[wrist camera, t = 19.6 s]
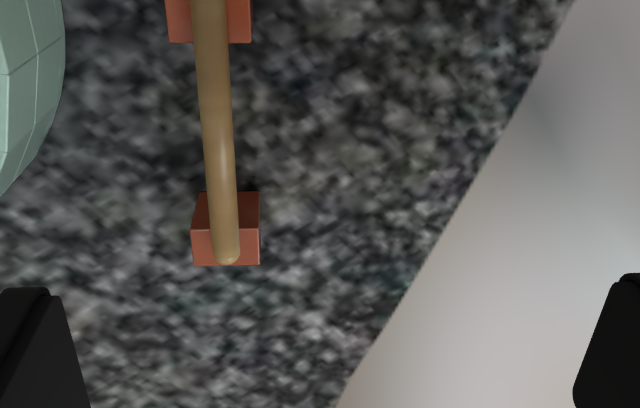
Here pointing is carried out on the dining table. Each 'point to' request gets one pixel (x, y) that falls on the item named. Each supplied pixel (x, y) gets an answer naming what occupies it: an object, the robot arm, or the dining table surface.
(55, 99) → the bowl
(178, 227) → the dining table surface
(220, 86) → the tan wooden rod
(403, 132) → the dining table surface
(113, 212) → the dining table surface
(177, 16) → the red blocks
